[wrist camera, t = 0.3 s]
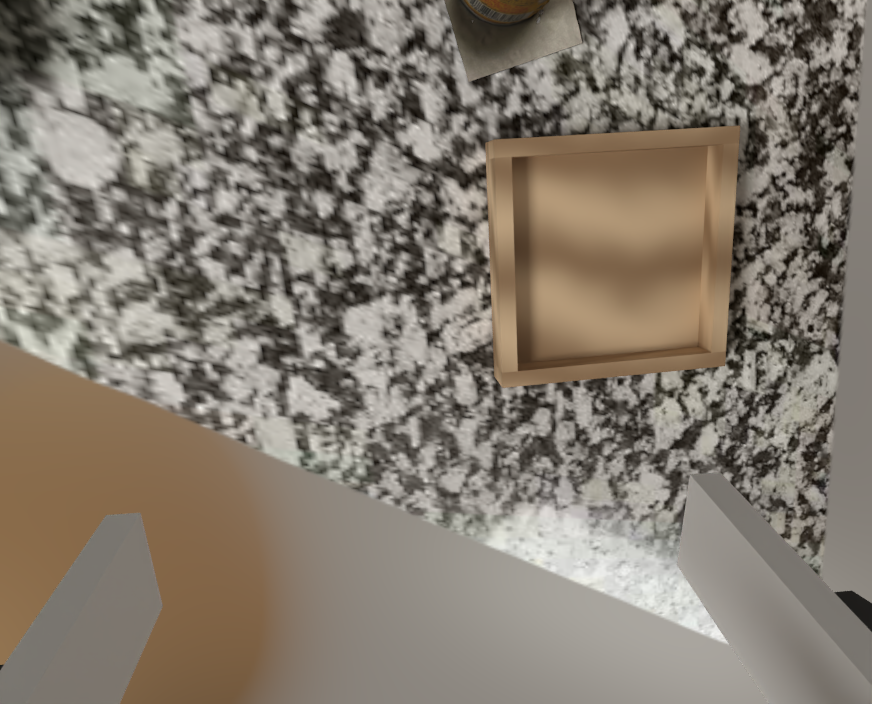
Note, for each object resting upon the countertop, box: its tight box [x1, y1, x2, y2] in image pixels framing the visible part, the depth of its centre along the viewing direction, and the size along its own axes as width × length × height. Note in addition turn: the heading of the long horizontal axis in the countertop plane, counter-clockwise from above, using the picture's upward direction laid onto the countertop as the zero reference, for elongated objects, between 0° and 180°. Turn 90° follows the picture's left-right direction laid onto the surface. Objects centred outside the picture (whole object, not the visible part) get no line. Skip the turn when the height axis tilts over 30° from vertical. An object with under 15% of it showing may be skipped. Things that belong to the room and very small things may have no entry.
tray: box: [485, 126, 740, 388], centre depth 39 cm, size 15×15×2 cm
